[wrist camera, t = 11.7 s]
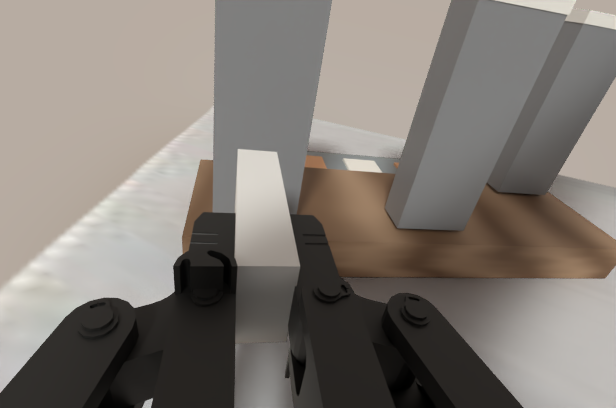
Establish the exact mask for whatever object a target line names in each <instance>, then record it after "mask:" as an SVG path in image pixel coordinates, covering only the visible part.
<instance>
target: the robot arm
mask: <svg viewBox="0 0 616 408" xmlns="http://www.w3.org/2000/svg"><path fill="white" fill-rule="evenodd" d="M328 244H329V243H328V240H327V237H326V234H325V231H324V228H323V225H322V224H321V223H320V221H319V220H318V219H317V218H316V217H315V216H314V215H297V214H289V209H288V204H287V199H286V194H285V189H284V184H283V179H282V174H281V169H280V164H279V160H278V155H277V152H271V151H258V150H245V149H238V156H237V176H236V195H235V213H217V212H203V213H202V214H201V215H200V216H199V217H198V218H197V219H196V220H195V221H194V225H193V230H192V235H191V240H190V245H189V251H187V252H185V253H184V254H183V255H181V256H180V257H179V258H178V259H177V260H176V262H175V264H174V266H173V269H174V285H175V292H174V293H172V294H171V295H170V296H169V297H167V298H165V299H163V300H161V301H158V302H155V303H153V304H149V305H145V306H141V307H137V308H133V307H132V306H131V305H130V304H129V302H127V301H124V300H121V299H119V298H101V299H97V300H93V301H89V302H87V303H85V304H83V305H81V306H79V307H77V308H76V309H74V310H73V311H72V312H71V313H70V314H69V315H68V316H66V317H65V318H64V320H63V321H62V322H61V323H60V324H59V325H58V327H57V328H56V329H55V330H54V331H53V332H52V334H51V335H50V336H49V337H48V338H47V339H46V341H45V342H44V343H43V344H42V345H41V346H40V348H39V349H38V350H37V351H36V352H35V353H34V355H33V356H32V357H31V358H30V359H29V360H28V362H27V363H26V364H25V365H24V366H23V367H22V368H21V370H20V371H19V372H18V373H17V374H16V375H15V377H14V378H13V379H12V380H11V381H10V382H9V384H8V385H7V386H6V387H5V388H4V389H3V391H2V392H1V393H0V408H142V406H143V404H144V402H145V401H146V400H149V399H151V398H153V402H152V406H151V408H234V385H235V344H241V343H266V342H286V341H287V336H288V331H289V338H290V350H289V356H288V361H287V366H286V372H285V378H289V376H290V379H291V388H292V396H293V405H294V408H523V407H522V405H521V404H520V403H519V402H518V401H517V400H516V399H515V397H514V396H513V395H512V394H511V393H510V392H509V391H508V389H507V388H506V387H505V386H504V385H503V384H502V383H501V382H500V380H499V379H498V378H497V377H496V376H495V375H494V374H493V372H492V371H491V370H490V369H489V368H488V367H487V366H486V364H485V363H484V362H483V361H482V360H481V359H480V358H479V356H478V355H477V354H476V353H475V352H474V351H473V350H472V348H471V347H470V346H469V345H468V344H467V343H466V342H465V340H464V339H463V338H462V337H461V336H460V335H459V334H458V332H457V331H456V330H455V329H454V328H453V327H452V326H451V324H450V323H449V322H448V321H447V320H446V319H445V318H444V317H443V315H442V314H441V313H440V312H439V311H438V310H437V309H436V308H435V307H434V306H433V305H432V304H431V303H430V302H429V301H427V300H425V299H424V298H422V297H420V296H418V295H414V294H410V293H399V294H396V295H394V296H392V297H391V298H390V300H389V301H388V303H387V304H385V303H381V302H377V301H373V300H369V299H366V298H363V297H360V296H358V295H356V294H355V293H354V291H353V289H352V288H351V286H350V285H349V284H348V283H347V282H346V281H344V280H343V279H342V278H340V277H339V273H338V270H337V267H336V264H335V261H334V258H333V255H332V252H331V249H330V246H329V245H328Z"/></svg>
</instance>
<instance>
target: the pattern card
mask: <svg viewBox="0 0 616 408" xmlns="http://www.w3.org/2000/svg"><path fill="white" fill-rule="evenodd" d="M399 162H400V159H397V158H384V157H372V156H360V155H348V154H336V153H324V152H312V151H307V155H306V161H305V167H310V168H323V169H337V170H351V171H365V172H378V173H392V174H396V171H397V168H398V165H399Z"/></svg>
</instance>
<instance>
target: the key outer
mask: <svg viewBox="0 0 616 408" xmlns="http://www.w3.org/2000/svg"><path fill="white" fill-rule="evenodd" d="M331 3H332V0H215V70H214V73H215V75H214V145H213V212H217V213H235V195H236V176H237V156H238V149H245V150H258V151H271V152H277V155H278V160H279V164H280V169H281V174H282V179H283V184H284V189H285V194H286V199H287V204H288V209H289V214H297V209H298V203H299V197H300V191H301V185H302V179H303V173H304V167H305V161H306V155H307V148H308V142H309V136H310V130H311V124H312V118H313V112H314V106H315V100H316V94H317V88H318V81H319V76H320V70H321V64H322V58H323V52H324V46H325V40H326V33H327V28H328V22H329V15H330V10H331Z"/></svg>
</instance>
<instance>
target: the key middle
mask: <svg viewBox="0 0 616 408" xmlns="http://www.w3.org/2000/svg"><path fill="white" fill-rule="evenodd" d="M575 2H576V0H451V3H450V6H449V9H448V13H447V16H446V19H445V22H444V25H443V28H442V31H441V35H440V37H439V41H438V44H437V47H436V50H435V53H434V56H433V59H432V63H431V65H430V69H429V72H428V75H427V78H426V81H425V84H424V87H423V90H422V93H421V97H420V100H419V103H418V106H417V109H416V112H415V115H414V118H413V122H412V125H411V128H410V131H409V134H408V137H407V140H406V143H405V146H404V149H403V153H402V156H401V159H400V162H399V165H398V168H397V171H396V174H395V177H394V181H393V184H392V187H391V190H390V193H389V196H388V199H387V202H386V205H385V209H386V210H387V212H388V214H389V215H390V217H391V219H392V220H393V222H394V224H395V225H396V227H397V228H404V229H431V230H458V231H464V229H465V227H466V225H467V222H468V220H469V218H470V216H471V214H472V212H473V210H474V208H475V206H476V204H477V202H478V200H479V198H480V195H481V193H482V191H483V189H484V187H485V185H486V183H487V181H488V179H489V177H490V175H491V173H492V171H493V169H494V166H495V164H496V162H497V160H498V158H499V156H500V154H501V152H502V150H503V148H504V146H505V144H506V142H507V139H508V137H509V135H510V133H511V131H512V129H513V127H514V125H515V123H516V121H517V119H518V117H519V115H520V113H521V110H522V108H523V106H524V104H525V102H526V100H527V98H528V96H529V94H530V92H531V90H532V88H533V86H534V83H535V81H536V79H537V77H538V75H539V73H540V71H541V69H542V67H543V65H544V63H545V61H546V59H547V56H548V54H549V52H550V50H551V48H552V46H553V44H554V42H555V40H556V38H557V36H558V34H559V32H560V30H561V27H562V25H563V23H564V21H565V19H566V17H567V15H569V14H570V12H571V10H572V8H573V6H574V4H575Z"/></svg>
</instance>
